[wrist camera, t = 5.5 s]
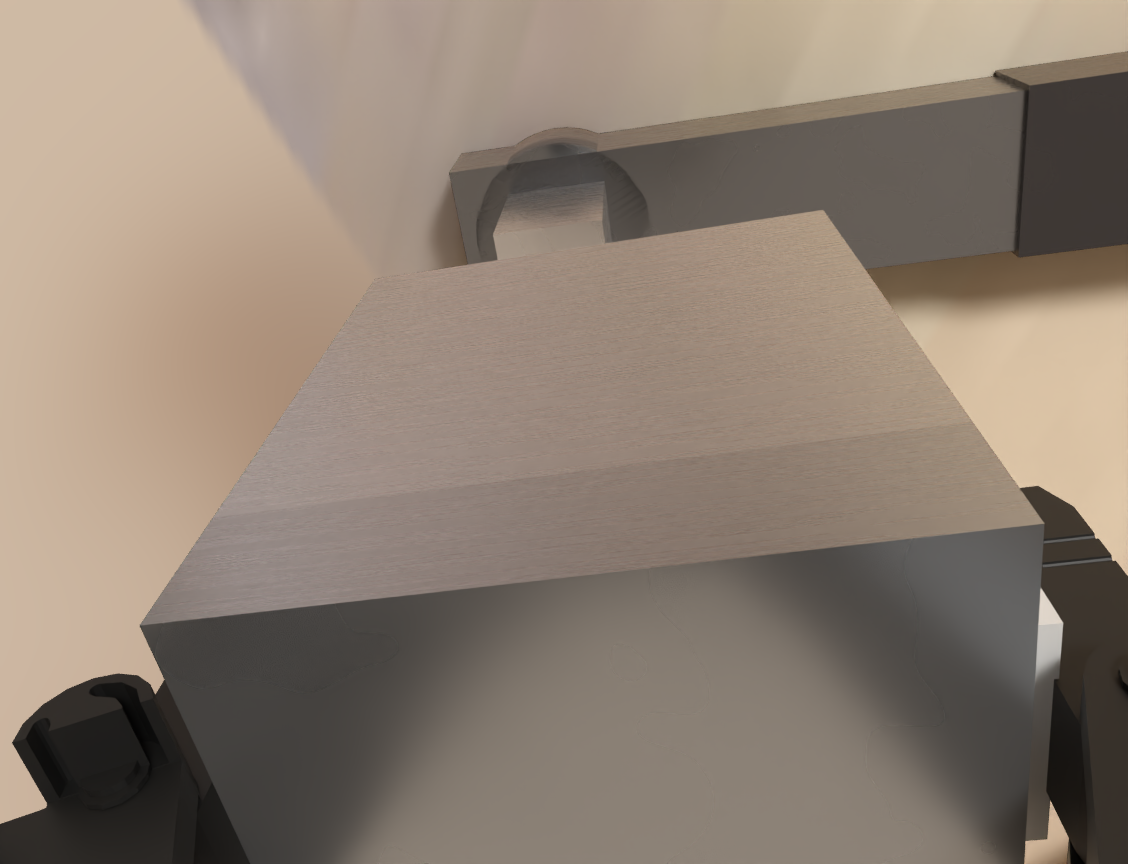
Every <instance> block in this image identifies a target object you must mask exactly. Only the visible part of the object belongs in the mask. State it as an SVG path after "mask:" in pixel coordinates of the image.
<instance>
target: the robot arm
mask: <svg viewBox="0 0 1128 864" xmlns="http://www.w3.org/2000/svg"><path fill="white" fill-rule="evenodd" d="M1020 490H1021V491H1022V493H1023V494H1024V495H1025V497H1026V498H1027V500H1028V501H1029V502H1030V504H1031V505H1032V507H1033V508H1034V510H1035V511H1036V512H1037V514H1038V515H1039V517H1040V518H1041V519H1042V521H1043V522H1044V539H1043V556H1042V573H1041V589H1040V606H1039V623H1038V640H1037V656H1036V673H1035V690H1034V706H1033V723H1032V740H1031V757H1030V773H1029V790H1028V807H1027V824H1026V840H1025V841H1029V840H1043V839H1047V835H1048V822H1049V808H1050V800H1051V802H1052V804H1053V806H1054V808H1055V810H1056V812H1057V814H1058V816H1059V818H1060V821H1061V823H1062V825H1063V827H1064V829H1065V831H1066V833H1067V835H1068V837H1069V843H1068V855H1067V864H1128V576H1127V575H1126V573H1125V572H1124V571H1123V570H1122V568H1121V567H1120V566H1119V564H1118V563H1117V562H1116V561H1112V558H1111V554H1110V553H1109V551H1108V550H1107V549H1106V548H1105V546H1104V545H1103V544H1102V542H1101V541H1100V540H1099V539H1095V536H1094V532H1093V531H1092V530H1091V528H1090V527H1089V526H1088V524H1087V523H1086V522H1085V521H1084V519H1083V518H1082V517H1081V515H1080V514H1079V513H1078V512H1077V510H1076V509H1075V508H1074V507H1073V506H1072V505H1070V504H1068V503H1066V502H1065V501H1063V500H1061V499H1060V498H1058V497H1056V496H1054V495H1053V494H1051V493H1049V492H1048V491H1046V490H1044V489H1042V488H1041V487H1039V486H1034V487H1025V488H1020ZM12 743H13V745H14V747H15V748H16V750H17V752H18V754H19V756H20V757H21V759H22V761H23V763H24V764H25V766H26V768H27V769H28V771H29V773H30V774H31V776H32V778H33V780H34V782H35V783H36V785H37V787H38V788H39V790H40V792H41V794H42V795H43V797H44V799H45V801H46V802H47V807H46V808H45V809H42V810H40V811H37V812H34V813H32V814H28V815H25V816H22V817H19V818H16V819H14V820H11V821H8V822H5V823H2V824H0V864H250V862H249V860H248V858H247V856H246V853H245V851H244V849H243V847H242V845H241V843H240V840H239V838H238V836H237V834H236V832H235V830H234V828H233V825H232V823H231V821H230V819H229V817H228V815H227V813H226V810H225V808H224V806H223V804H222V802H221V800H220V797H219V795H218V793H217V791H216V789H215V787H214V785H213V782H212V780H211V778H210V776H209V774H208V772H207V769H206V767H205V765H204V763H203V761H202V759H201V757H200V754H199V752H198V750H197V748H196V746H195V744H194V742H193V739H192V737H191V735H190V733H189V731H188V729H187V726H186V724H185V722H184V720H183V718H182V716H181V714H180V711H179V709H178V707H177V705H176V703H175V701H174V698H173V696H172V694H171V692H170V690H169V688H168V686H167V683H166V681H165V680H164V681H163V683H162V685H161V686H160V688H159V690H158V691H157V693H156V695H155V693H154V692H153V689H152V687H151V685H150V684H149V683H148V682H146V681H145V680H143V679H142V678H141V677H139V676H137V675H127V674H113V675H108V676H104V677H98V678H93V679H91V680H88V681H86V682H83V683H81V684H79V685H76V686H74V687H71V688H69V689H67V690H65V691H64V692H62V693H61V694H59V695H57V696H56V697H54V698H53V699H51V700H50V701H48V702H47V703H45V704H43V705H42V706H41V707H40V708H39V709H38V710H37V711H36V712H35V713H34V714H33V715H32V716H31V717H30V718H29V719H28V720H27V721H25V723H23V725H22V727H21V728H20V730H19V732H18V734H17V735H16V737H15V739H14V740H13V742H12Z"/></svg>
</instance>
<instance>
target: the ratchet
mask: <svg viewBox="0 0 1128 864" xmlns="http://www.w3.org/2000/svg"><path fill="white" fill-rule="evenodd" d="M449 174H450V179H451V184H452V189H453V194H454V199H455V204H456V209H457V214H458V218H459V223H460V228H461V233H462V238H463V243H464V248H465V253H466V257H467V262H468V265H469V264H476V263H482V262H489V261H495V260H501V259H508V258H514V257H521V256H527V255H534V254H540V253H547V252H553V251H560V250H566V249H573V248H579V247H586V246H592V245H599V244H605V243H612V242H618V241H625V240H631V239H638V238H644V237H650V236H657V235H663V234H670V233H676V232H683V231H689V230H696V229H702V228H709V227H715V226H722V225H728V224H735V223H741V222H748V221H754V220H761V219H767V218H774V217H780V216H787V215H793V214H799V213H806V212H812V211H819V210H824V212H825V213H826V215H827V216H828V218H829V219H830V220H831V222H832V223H833V225H834V226H835V227H836V229H837V230H838V232H839V233H840V235H841V236H842V237H843V239H844V240H845V242H846V243H847V244H848V246H849V247H850V249H851V250H852V252H853V253H854V254H855V256H856V257H857V259H858V260H859V261H860V263H861V264H862V266H863V267H864V269H871V268H879V267H887V266H895V265H903V264H911V263H919V262H927V261H935V260H943V259H951V258H959V257H967V256H975V255H983V254H991V253H999V252H1007V251H1012V252H1013V253H1014V254H1015V255H1016V256H1017V257H1026V256H1034V255H1042V254H1050V253H1058V252H1066V251H1074V250H1082V249H1090V248H1098V247H1106V246H1114V245H1122V244H1128V51H1127V52H1121V53H1114V54H1107V55H1100V56H1093V57H1086V58H1079V59H1073V60H1066V61H1059V62H1052V63H1045V64H1038V65H1031V66H1025V67H1018V68H1011V69H1004V70H997V71H996V74H995V76H993V77H986V78H979V79H972V80H965V81H958V82H951V83H944V84H938V85H931V86H924V87H917V88H910V89H903V90H896V91H889V92H883V93H876V94H869V95H862V96H855V97H848V98H841V99H834V100H827V101H821V102H814V103H807V104H800V105H793V106H786V107H779V108H772V109H766V110H759V111H752V112H745V113H738V114H731V115H724V116H717V117H711V118H704V119H697V120H690V121H683V122H676V123H669V124H662V125H655V126H649V127H642V128H635V129H628V130H621V131H614V132H607V133H600V134H598V133H595V132H592V131H589V130H585V129H579V128H568V127H565V128H554V129H549V130H545V131H542V132H539V133H536V134H534V135H532V136H530V137H528V138H526V139H524V140H523V141H521V142H520V143H518V144H517V145H516V146H511V147H504V148H497V149H490V150H483V151H477V152H470V153H463V154H461V155H460V157H459V158H458V160H457V161H456V163H455V165H454V166H453V168H452V169H451V171H450V172H449Z"/></svg>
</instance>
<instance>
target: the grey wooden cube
mask: <svg viewBox="0 0 1128 864" xmlns="http://www.w3.org/2000/svg"><path fill="white" fill-rule="evenodd" d="M1043 539H1044V522H1043V521H1042V519H1041V518H1040V517H1039V515H1038V514H1037V512H1036V511H1035V510H1034V508H1033V507H1032V505H1031V504H1030V502H1029V501H1028V500H1027V498H1026V497H1025V495H1024V494H1023V493H1022V491H1021V490H1020V488H1019V487H1018V485H1017V484H1016V483H1015V481H1014V480H1013V478H1012V477H1011V476H1010V474H1009V473H1008V471H1007V470H1006V468H1005V467H1004V466H1003V464H1002V463H1001V461H1000V460H999V459H998V457H997V456H996V454H995V453H994V451H993V450H992V449H991V447H990V446H989V444H988V443H987V441H986V440H985V439H984V437H983V436H982V434H981V433H980V432H979V430H978V429H977V427H976V426H975V424H974V423H973V422H972V420H971V419H970V417H969V416H968V415H967V413H966V412H965V410H964V409H963V407H962V406H961V405H960V403H959V402H958V400H957V399H956V398H955V396H954V395H953V393H952V392H951V390H950V389H949V388H948V386H947V385H946V383H945V382H944V381H943V379H942V378H941V376H940V375H939V373H938V372H937V371H936V369H935V368H934V366H933V365H932V364H931V362H930V361H929V359H928V358H927V356H926V355H925V354H924V352H923V351H922V349H921V348H920V347H919V345H918V344H917V342H916V341H915V339H914V338H913V337H912V335H911V334H910V332H909V331H908V330H907V328H906V327H905V325H904V324H903V322H902V321H901V320H900V318H899V317H898V315H897V314H896V312H895V311H894V310H893V308H892V307H891V305H890V304H889V303H888V301H887V300H886V298H885V297H884V295H883V294H882V293H881V291H880V290H879V288H878V287H877V286H876V284H875V283H874V281H873V280H872V278H871V277H870V276H869V274H868V273H867V271H866V270H865V269H864V267H863V266H862V264H861V263H860V261H859V260H858V259H857V257H856V256H855V254H854V253H853V252H852V250H851V249H850V247H849V246H848V244H847V243H846V242H845V240H844V239H843V237H842V236H841V235H840V233H839V232H838V230H837V229H836V227H835V226H834V225H833V223H832V222H831V220H830V219H829V218H828V216H827V215H826V213H825V212H824V210H819V211H812V212H806V213H799V214H793V215H787V216H780V217H774V218H767V219H761V220H754V221H748V222H741V223H735V224H728V225H722V226H715V227H709V228H702V229H696V230H689V231H683V232H676V233H670V234H663V235H657V236H650V237H644V238H638V239H631V240H625V241H618V242H612V243H605V244H599V245H592V246H586V247H579V248H573V249H566V250H560V251H553V252H547V253H540V254H534V255H527V256H521V257H514V258H508V259H501V260H495V261H489V262H482V263H476V264H469V265H463V266H456V267H450V268H443V269H437V270H430V271H424V272H417V273H411V274H404V275H398V276H391V277H385V278H378V279H375V280H374V281H373V283H372V284H371V286H370V287H369V289H368V290H367V291H366V293H365V294H364V296H363V297H362V299H361V300H360V302H359V303H358V305H357V306H356V308H355V309H354V311H353V312H352V313H351V315H350V316H349V318H348V320H347V321H346V323H345V324H344V325H343V327H342V328H341V330H340V331H339V333H338V334H337V336H336V337H335V338H334V340H333V342H332V343H331V345H330V346H329V347H328V349H327V350H326V352H325V353H324V355H323V356H322V358H321V359H320V361H319V362H318V364H317V365H316V367H315V368H314V369H313V371H312V373H311V374H310V375H309V377H308V378H307V380H306V381H305V383H304V384H303V386H302V387H301V389H300V390H299V392H298V393H297V394H296V396H295V397H294V399H293V400H292V402H291V404H290V405H289V406H288V408H287V409H286V411H285V412H284V414H283V415H282V417H281V418H280V419H279V421H278V423H277V424H276V425H275V427H274V428H273V430H272V431H271V433H270V434H269V436H268V438H267V439H266V440H265V442H264V443H263V445H262V446H261V447H260V449H259V450H258V452H257V454H256V455H255V456H254V458H253V459H252V461H251V462H250V464H249V465H248V467H247V468H246V470H245V471H244V472H243V474H242V475H241V477H240V478H239V480H238V481H237V483H236V484H235V486H234V487H233V489H232V490H231V492H230V493H229V495H228V496H227V498H226V499H225V501H224V502H223V503H222V505H221V506H220V508H219V509H218V511H217V512H216V514H215V515H214V517H213V518H212V520H211V521H210V523H209V524H208V526H207V527H206V528H205V530H204V531H203V533H202V534H201V536H200V537H199V539H198V540H197V542H196V543H195V545H194V546H193V548H192V549H191V551H190V552H189V554H188V555H187V556H186V558H185V560H184V561H183V562H182V564H181V565H180V567H179V568H178V570H177V571H176V573H175V574H174V576H173V577H172V578H171V580H170V581H169V583H168V585H167V586H166V587H165V589H164V590H163V592H162V593H161V595H160V596H159V598H158V599H157V601H156V602H155V604H154V605H153V606H152V608H151V609H150V611H149V612H148V614H147V615H146V617H145V618H144V620H143V621H142V623H141V624H140V627H141V630H142V632H143V634H144V636H145V638H146V640H147V642H148V645H149V647H150V649H151V651H152V653H153V655H154V658H155V660H156V662H157V664H158V666H159V668H160V670H161V673H162V675H163V677H164V679H165V681H166V683H167V686H168V688H169V690H170V692H171V694H172V696H173V698H174V701H175V703H176V705H177V707H178V709H179V711H180V714H181V716H182V718H183V720H184V722H185V724H186V726H187V729H188V731H189V733H190V735H191V737H192V739H193V742H194V744H195V746H196V748H197V750H198V752H199V754H200V757H201V759H202V761H203V763H204V765H205V767H206V769H207V772H208V774H209V776H210V778H211V780H212V782H213V785H214V787H215V789H216V791H217V793H218V795H219V797H220V800H221V802H222V804H223V806H224V808H225V810H226V813H227V815H228V817H229V819H230V821H231V823H232V825H233V828H234V830H235V832H236V834H237V836H238V838H239V840H240V843H241V845H242V847H243V849H244V851H245V853H246V856H247V858H248V860H249V862H250V864H1024V857H1025V840H1026V824H1027V807H1028V790H1029V773H1030V757H1031V740H1032V723H1033V706H1034V690H1035V673H1036V656H1037V640H1038V623H1039V606H1040V589H1041V573H1042V556H1043Z"/></svg>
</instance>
